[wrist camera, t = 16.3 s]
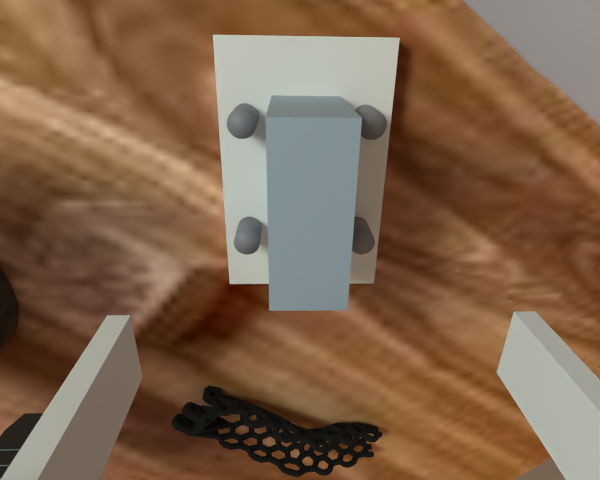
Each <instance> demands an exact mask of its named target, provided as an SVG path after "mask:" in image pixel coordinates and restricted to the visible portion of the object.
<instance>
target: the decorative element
mask: <svg viewBox="0 0 600 480" xmlns="http://www.w3.org/2000/svg"><path fill="white" fill-rule="evenodd" d="M203 400H204V402H206V403H207V404H209V405H212V406H213V407H209V406H204V405H203V406H200V405H197V404H195V403H193V402H188V403H186V404H185V405H184V407H183V408H182V412H183V414H184V415H183V414H177V415H176V416H175V417H174V418H173V420H172V425H173V427H174V429H176V430H178V431H181V432H183V433H185V434H186V435H187V436H196V437H205V438H214V439H218V440H219V443H220V444H221V445H222V446H223V447H224V448H227V449H232V450H233V449H242V450H244V451H247V453H248V454H249V456H250V457H251V458H252V459H253V460H255V461H258V462H260V463H262V462H270V463H272V464H275V465H277V466H278V468H279V469H280V470H281V471H282V472H283V473H285V474H288V475H291V476H294V477H300V476H301V475H303V474H304V473H307V472H316V473H318V474H319V475H324V476H326V475H329V474H330V473H331V472H332V470H333V467H334V466H335V465H341V466H343V467H348V468H349V467H351V466H354V465H355V464H356V462H357V460H358V458H361V457H373V456H374V453H373V452H372V451H371V452H368V451H369V450H370V449H372V446H371V444H367V443H365V442H366V441H369V442H376V441H377V440H378V439H379V437H381V436H382V432H379V431H378V427H375V426H370V425H364V424H358V423H335V424H331V425H328V426H326V427H322V428H316V429H306V428H302V427H299V426H297V425H295V424H293V423H291V422H290V421H288V420H286V419H284V418H283V417H281V416H279V415H277V414H274V413H271V412H269V411H266V410H264V409H262V408H260V407H258V406H256V405H254V404H251V403H248V402H245V401H243V400H240V399H237V398H234V397H231V396H228V395H225V394H223V392H222V389H221V388H218V387H213V386H207V387H206V388H205V389H204V393H203ZM219 402H220V404H218V403H219ZM232 406H234V408H231V407H232ZM240 407H243V408H244V409H242V408H240ZM230 408H231V409H230ZM232 414H239V415H240V419H241V420H239V421H237V422H235V423H232V422H228V421H227V420H225V419H223V418H221V417H219V416H221V415H222V416H228V415H232ZM252 415H256V418H257V419H256V420H254V421H251V420H249V416H252ZM262 417H263V418H262ZM269 419H270V420H269ZM241 425H246V426H248V427H249V432H247V433H244V434H242V435H240V434H237V433H235V428H237V427H239V426H241ZM264 426H266V430H267V431H266V432H264V433H262V434H258V433H256V432H254V428H261V427H264ZM228 427H229V428H230V433H225V434H219V432H218V429H223V428H228ZM272 429H273V431H272ZM279 429H282V431H283V432H281V433H279ZM357 429H358V430H357ZM288 430H290V431H291V432H293V433H291V432H289V431H288ZM344 433H347V434H344ZM367 433H372V434H374V436H371V435H368V434H367ZM334 435H335V436H334ZM269 436H270V437H272V438H274V439H275V440H276V445H273V446H271V447H268V446H265V445H263V442H262V439H265V438H267V437H269ZM352 436H354V437H353V439H352ZM251 437H252V438H255V439H257V444H256V445H252V446H248V445H246V444H244V443H243V440H246V439H248V438H251ZM359 437H362V438H361V439H360V440H359ZM230 438H234V439H236V440H238V443H234V444H231V443H228V442H226V441H224V440H226V439H230ZM317 439H318V440H317ZM326 440H328V441H330V442H329V444H328V443H327V442H326ZM281 441H282V442H284V443H289V442H292V444H291V445H289V446H288V447H285V446H283V445H281ZM297 441H300V443H297ZM340 442H342V443H343V444H345V445H347V446H348V448H346V449H342V448H341V447H340V446H339V444H340ZM306 444H309V445H310V448H309V450H307V451H305V450H304V446H305V445H306ZM319 445H322V446H323V447H320V446H319ZM358 445H361V446H362V447H363V448H364V449H363V450H362V451H361V452H355V451H354V450H353V449H354V447H355V446H358ZM294 449H299V452H300V455H299V456H298V457H297V458H292V457H291V455H290V452H291V451H292V450H294ZM333 449H335V450H336V451H337V452H338V453H339V454H338V458H337V459H334V460H332V459H330V458H329V457H328V456H327V455H328V452H330V451H331V450H333ZM257 450H261V451H263V452H265V453H266V456H262V457H261V456H259V455H257V454H255V453H254V452H253V451H257ZM277 450H280V451H281V452H283V453H285V458H282V459H280V460H279V459H277V458H275V457H272V454H271V452H274V451H277ZM314 450H315V451H316V452H320V453H323V454H322V455H319V456H317V455H316V454H315V453H314ZM346 454H350V455H352V456H353V458H352V460H351V461H349V462H345V461H343V457H344V455H346ZM308 456H309V457H310V458H311V459H313V465H312V466H305V465H304V464H303V463H302V462H301V461H302V460H303V459H304V458H305V457H308ZM323 460H324V461H325V462H326V463H327V464H329V465H328V468H327V469H324V470H323V469H321V468H319V467H318V464H319V462H320V461H323ZM287 463H291V464H295V465H297V466H298V467H299V468H300V470H298V471H297V470H293V469H289V468H286V467H285V466H284V465H283V464H287Z"/></svg>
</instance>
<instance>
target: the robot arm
mask: <svg viewBox="0 0 600 480" xmlns="http://www.w3.org/2000/svg"><path fill="white" fill-rule="evenodd" d="M17 322H18V306H17V302H16V298H15V295H14V293H13V290H12V288H11V286H10V284H9V282H8V281H7V279H6V278H5V276H4V275H3V273H2V272H1V271H0V350H1V349H2V348H3V347H4V346H5V345H6V344H7V343H8V342H9V341H10V339H11V338H12V336H13V334H14V332H15V330H16V327H17ZM497 374H498V375H499V377H500V379H501V380H502V382H503V383H504V385H505V386H506V388H507V389H508V391H509V392H510V394H511V396H512V397H513V399H514V400H515V402H516V403H517V405H518V406H519V408H520V409H521V411H522V412H523V414H524V416H525V417H526V419H527V420H528V422H529V423H530V425H531V426H532V428H533V429H534V431H535V433H536V434H537V436H538V437H539V439H540V440H541V442H542V443H543V445H544V446H545V448H546V449H547V451H548V453H549V454H550V456H551V457H552V459H553V460H554V462H555V463H556V465H557V466H558V468H559V469H560V471H561V473H562V474H563V476H564V477H565V479H566V480H600V380H599V379H598V377H597V376H596V375H595V374H594V373H593V372H592V371H591V370H590V369H589V368H588V367H587V366H586V365H585V364H584V363H583V362H582V360H581V359H580V358H579V357H578V356H577V355H576V354H575V353H574V352H573V351H572V350H571V349H570V348H569V347H568V346H567V345H566V343H565V342H564V341H563V340H562V339H561V338H560V337H559V336H558V335H557V334H556V333H555V332H554V331H553V330H552V329H551V328H550V327H549V325H548V324H547V323H546V322H545V321H544V320H543V319H542V318H541V317H540V316H539V315H538V314H537V313H536V312H514V313H513V317H512V320H511V324H510V327H509V331H508V334H507V338H506V342H505V345H504V349H503V352H502V356H501V359H500V363H499V366H498V370H497ZM142 378H143V377H142V372H141V367H140V362H139V357H138V352H137V346H136V341H135V336H134V331H133V326H132V320H131V315H107V317H106V318H105V320H104V321H103V323H102V324H101V326H100V327H99V329H98V330H97V332H96V333H95V335H94V337H93V338H92V340H91V341H90V343H89V344H88V346H87V347H86V349H85V350H84V352H83V353H82V355H81V357H80V358H79V360H78V361H77V363H76V364H75V366H74V367H73V369H72V370H71V372H70V373H69V375H68V377H67V378H66V380H65V381H64V383H63V384H62V386H61V387H60V389H59V390H58V392H57V393H56V395H55V396H54V398H53V400H52V401H51V403H50V404H49V406H48V407H47V409H46V410H45V412H44V413H33V414H24V415H23V416H21V417H20V418H19V419H18V420H17V421H15V422H14V423H13V424H12V425H11V426H9V427H8V428H7V429H6V430H5V431H4V432H3V434H2V435H1V436H0V480H100V477H101V475H102V473H103V470H104V468H105V466H106V463H107V461H108V459H109V456H110V454H111V451H112V449H113V447H114V444H115V442H116V440H117V437H118V435H119V433H120V430H121V428H122V425H123V423H124V421H125V418H126V416H127V414H128V411H129V409H130V407H131V404H132V402H133V399H134V397H135V395H136V392H137V390H138V388H139V385H140V383H141V381H142Z"/></svg>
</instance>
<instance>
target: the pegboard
mask: <svg viewBox="0 0 600 480" xmlns="http://www.w3.org/2000/svg"><path fill="white" fill-rule="evenodd" d="M399 40H400V38H377V37H316V36H256V35H213V44H214V59H215V73H216V88H217V103H218V118H219V133H220V148H221V163H222V177H223V192H224V207H225V222H226V237H227V252H228V267H229V281H230V284H269V265H268V215H267V164H266V114H267V110H268V107H269V103H270V100H271V96H272V95H283V96H340V97H341V98H342V99H343V100H344V101H345V102H346V103H347V104H348V105H349V106H350V107H351V108H352V109H353V110H354V111H355V112H356V113H357V114H358V115H360V116H361V117H362V125H361V138H360V151H359V164H358V177H357V191H356V204H355V217H354V230H353V243H352V256H351V269H350V282H349V284H371V283H374V278H375V269H376V259H377V250H378V240H379V231H380V221H381V212H382V202H383V193H384V183H385V174H386V164H387V154H388V145H389V135H390V126H391V116H392V107H393V97H394V88H395V78H396V69H397V59H398V50H399Z"/></svg>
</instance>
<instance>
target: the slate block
mask: <svg viewBox="0 0 600 480" xmlns="http://www.w3.org/2000/svg"><path fill="white" fill-rule="evenodd" d="M361 125H362V117H361V116H360V115H358V114H357V113H356V112H355V111H354V110H353V109H352V108H351V107H350V106H349V105H348V104H347V103H346V102H345V101H344V100H343V99H342V98H341V97H340V96H283V95H272V96H271V100H270V103H269V107H268V110H267V114H266V164H267V215H268V265H269V311H300V310H347V308H348V295H349V282H350V269H351V256H352V243H353V230H354V217H355V204H356V191H357V177H358V164H359V151H360V138H361Z"/></svg>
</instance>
